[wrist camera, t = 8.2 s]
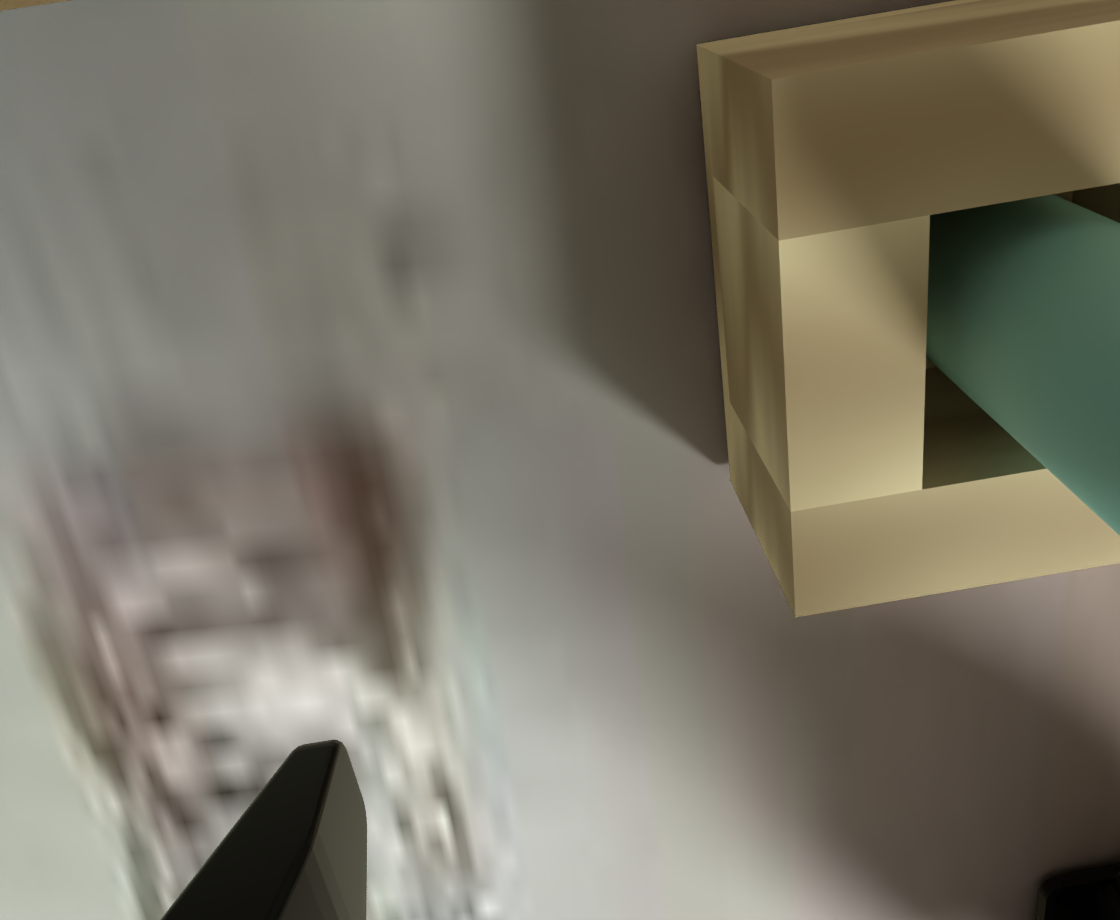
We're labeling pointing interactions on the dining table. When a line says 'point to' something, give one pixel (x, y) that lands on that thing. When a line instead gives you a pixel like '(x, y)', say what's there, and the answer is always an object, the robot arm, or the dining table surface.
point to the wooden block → (24, 3)
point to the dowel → (1035, 332)
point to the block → (891, 284)
